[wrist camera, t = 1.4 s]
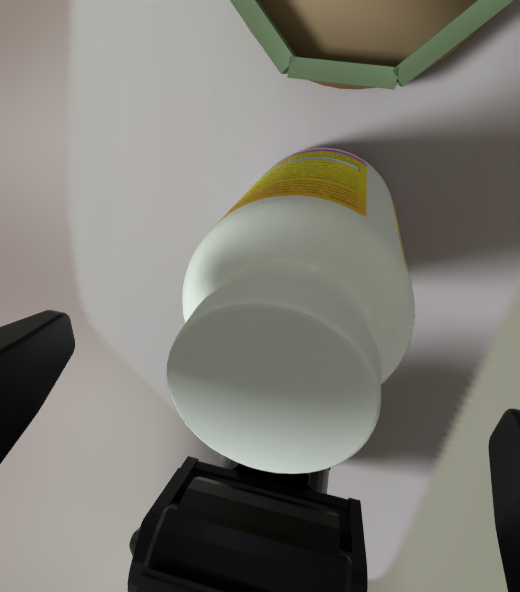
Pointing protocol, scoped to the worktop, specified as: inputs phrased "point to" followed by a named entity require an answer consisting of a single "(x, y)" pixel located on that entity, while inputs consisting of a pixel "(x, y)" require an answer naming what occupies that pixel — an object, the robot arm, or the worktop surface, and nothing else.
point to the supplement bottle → (294, 316)
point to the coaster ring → (362, 36)
